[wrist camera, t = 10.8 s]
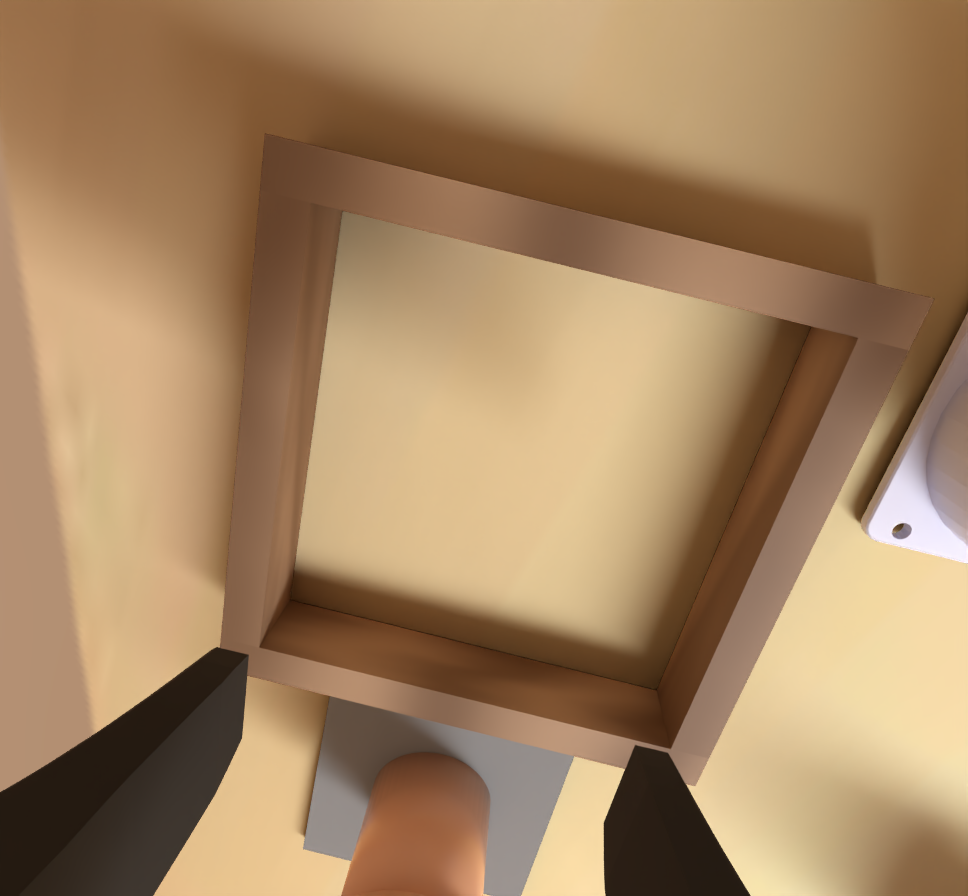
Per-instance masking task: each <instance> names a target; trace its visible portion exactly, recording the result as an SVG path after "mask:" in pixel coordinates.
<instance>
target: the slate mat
mask: <svg viewBox="0 0 968 896" xmlns="http://www.w3.org/2000/svg"><path fill="white" fill-rule="evenodd" d="M419 752H429V753H438V754H443V755H446V756H450V757H453V758H455V759H457V760H459V761H461V762H463V763H465V764H467V765H468V766H469V767H471V768H472V769H473V770H474V771H476V772H477V773H478V774H479V775H480V777H481V778H482V779H483V781H484V782H485V784H486V786H487V788H488V790H489V793H490V799H491V804H490V817H489V830H488V842H487V854H486V866H485V879H484V891H483V894H487V895H491V896H521V894H522V892H523V889H524V886H525V884H526V881H527V878H528V876H529V873H530V871H531V868H532V865H533V863H534V860H535V857H536V855H537V852H538V850H539V847H540V844H541V842H542V839H543V837H544V834H545V831H546V829H547V826H548V823H549V821H550V818H551V816H552V813H553V810H554V808H555V805H556V802H557V800H558V797H559V795H560V792H561V789H562V787H563V784H564V781H565V779H566V776H567V774H568V771H569V768H570V766H571V763H572V760H573V758H574V756H571V755H567V754H563V753H559V752H555V751H551V750H546V749H542V748H538V747H534V746H530V745H526V744H522V743H518V742H514V741H510V740H506V739H502V738H498V737H494V736H490V735H486V734H482V733H478V732H474V731H470V730H465V729H461V728H457V727H453V726H449V725H445V724H441V723H437V722H433V721H429V720H425V719H421V718H417V717H413V716H409V715H405V714H401V713H397V712H393V711H388V710H384V709H380V708H376V707H372V706H368V705H364V704H360V703H356V702H352V701H348V700H344V699H340V698H336V697H332V696H330V698H329V703H328V709H327V715H326V721H325V726H324V732H323V738H322V743H321V749H320V755H319V761H318V766H317V772H316V778H315V783H314V789H313V795H312V801H311V806H310V812H309V818H308V823H307V829H306V835H305V841H304V846H303V849H305V850H309V851H313V852H317V853H321V854H325V855H329V856H333V857H337V858H341V859H345V860H350V861H352V857H353V854H354V850H355V847H356V843H357V840H358V836H359V833H360V830H361V826H362V823H363V819H364V816H365V812H366V809H367V805H368V802H369V799H370V795H371V792H372V788H373V785H374V782H375V778H376V776H377V775H378V773H379V772H380V770H381V769H382V768H383V767H384V766H385V765H386V764H387V763H389V762H390V761H392V760H394V759H396V758H398V757H400V756H403V755H407V754H411V753H419Z"/></svg>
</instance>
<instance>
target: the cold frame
mask: <svg viewBox="0 0 968 896" xmlns="http://www.w3.org/2000/svg"><path fill="white" fill-rule="evenodd" d="M342 211H346V212H350V213H354V214H359V215H363V216H367V217H371V218H375V219H379V220H383V221H387V222H391V223H395V224H399V225H403V226H407V227H411V228H415V229H419V230H423V231H427V232H431V233H436V234H440V235H444V236H448V237H452V238H456V239H460V240H464V241H468V242H472V243H476V244H480V245H484V246H488V247H492V248H496V249H500V250H504V251H508V252H513V253H517V254H521V255H525V256H529V257H533V258H537V259H541V260H545V261H549V262H553V263H557V264H561V265H565V266H569V267H573V268H577V269H581V270H585V271H590V272H594V273H598V274H602V275H606V276H610V277H614V278H618V279H622V280H626V281H630V282H634V283H638V284H642V285H646V286H650V287H654V288H658V289H662V290H667V291H671V292H675V293H679V294H683V295H687V296H691V297H695V298H699V299H703V300H707V301H711V302H715V303H719V304H723V305H727V306H731V307H735V308H739V309H744V310H748V311H752V312H756V313H760V314H764V315H768V316H772V317H776V318H780V319H784V320H788V321H792V322H796V323H800V324H804V325H808V326H812V327H811V329H810V331H809V334H808V336H807V338H806V341H805V343H804V345H803V348H802V350H801V352H800V355H799V357H798V359H797V362H796V364H795V366H794V369H793V371H792V374H791V376H790V378H789V381H788V383H787V385H786V388H785V390H784V392H783V395H782V397H781V399H780V402H779V404H778V406H777V409H776V411H775V414H774V416H773V418H772V421H771V423H770V425H769V428H768V430H767V432H766V435H765V437H764V439H763V442H762V444H761V446H760V449H759V451H758V453H757V456H756V458H755V461H754V463H753V465H752V468H751V470H750V472H749V475H748V477H747V479H746V482H745V484H744V486H743V489H742V491H741V493H740V496H739V498H738V501H737V503H736V505H735V508H734V510H733V512H732V515H731V517H730V519H729V522H728V524H727V526H726V529H725V531H724V533H723V536H722V538H721V540H720V543H719V545H718V548H717V550H716V552H715V555H714V557H713V559H712V562H711V564H710V566H709V569H708V571H707V573H706V576H705V578H704V580H703V583H702V585H701V587H700V590H699V592H698V595H697V597H696V599H695V602H694V604H693V606H692V609H691V611H690V613H689V616H688V618H687V620H686V623H685V625H684V627H683V630H682V632H681V635H680V637H679V639H678V642H677V644H676V646H675V649H674V651H673V653H672V656H671V658H670V660H669V663H668V665H667V667H666V670H665V672H664V674H663V677H662V679H661V682H660V684H659V686H658V689H657V691H656V690H652V689H648V688H644V687H640V686H636V685H632V684H628V683H624V682H620V681H616V680H612V679H608V678H603V677H599V676H595V675H591V674H587V673H583V672H579V671H575V670H571V669H567V668H563V667H559V666H555V665H551V664H547V663H543V662H539V661H535V660H531V659H526V658H522V657H518V656H514V655H510V654H506V653H502V652H498V651H494V650H490V649H486V648H482V647H478V646H474V645H470V644H466V643H462V642H458V641H454V640H450V639H445V638H441V637H437V636H433V635H429V634H425V633H421V632H417V631H413V630H409V629H405V628H401V627H397V626H393V625H389V624H385V623H381V622H377V621H373V620H368V619H364V618H360V617H356V616H352V615H348V614H344V613H340V612H336V611H332V610H328V609H324V608H320V607H316V606H312V605H308V604H304V603H300V602H296V601H291V600H290V596H291V589H292V581H293V574H294V566H295V559H296V551H297V544H298V537H299V529H300V522H301V514H302V507H303V499H304V492H305V484H306V477H307V470H308V462H309V455H310V447H311V440H312V432H313V425H314V418H315V410H316V403H317V395H318V388H319V380H320V373H321V365H322V358H323V351H324V343H325V336H326V328H327V321H328V313H329V306H330V298H331V291H332V284H333V276H334V269H335V261H336V254H337V246H338V239H339V231H340V224H341V217H342ZM933 301H934V298H930V297H926V296H922V295H918V294H914V293H910V292H906V291H901V290H897V289H893V288H889V287H885V286H881V285H877V284H873V283H869V282H865V281H861V280H857V279H853V278H849V277H845V276H841V275H837V274H833V273H829V272H824V271H820V270H816V269H812V268H808V267H804V266H800V265H796V264H792V263H788V262H784V261H780V260H776V259H772V258H768V257H764V256H760V255H756V254H752V253H747V252H743V251H739V250H735V249H731V248H727V247H723V246H719V245H715V244H711V243H707V242H703V241H699V240H695V239H691V238H687V237H683V236H679V235H675V234H670V233H666V232H662V231H658V230H654V229H650V228H646V227H642V226H638V225H634V224H630V223H626V222H622V221H618V220H614V219H610V218H606V217H602V216H598V215H593V214H589V213H585V212H581V211H577V210H573V209H569V208H565V207H561V206H557V205H553V204H549V203H545V202H541V201H537V200H533V199H529V198H525V197H521V196H516V195H512V194H508V193H504V192H500V191H496V190H492V189H488V188H484V187H480V186H476V185H472V184H468V183H464V182H460V181H456V180H452V179H448V178H444V177H439V176H435V175H431V174H427V173H423V172H419V171H415V170H411V169H407V168H403V167H399V166H395V165H391V164H387V163H383V162H379V161H375V160H371V159H367V158H362V157H358V156H354V155H350V154H346V153H342V152H338V151H334V150H330V149H326V148H322V147H318V146H314V145H310V144H306V143H302V142H298V141H294V140H290V139H285V138H281V137H277V136H273V135H269V134H265V139H264V151H263V162H262V174H261V185H260V197H259V208H258V219H257V231H256V242H255V254H254V265H253V277H252V288H251V300H250V311H249V323H248V334H247V346H246V357H245V369H244V380H243V392H242V403H241V414H240V426H239V437H238V449H237V460H236V472H235V483H234V495H233V506H232V518H231V529H230V541H229V552H228V564H227V575H226V586H225V598H224V609H223V621H222V632H221V644H220V648H222V649H227V650H231V651H235V652H240V653H244V654H248V655H249V660H248V672H247V676H251V677H255V678H259V679H263V680H267V681H271V682H275V683H279V684H283V685H287V686H291V687H295V688H299V689H303V690H307V691H312V692H316V693H320V694H324V695H328V696H332V697H336V698H340V699H344V700H348V701H352V702H356V703H360V704H364V705H368V706H372V707H376V708H380V709H384V710H388V711H393V712H397V713H401V714H405V715H409V716H413V717H417V718H421V719H425V720H429V721H433V722H437V723H441V724H445V725H449V726H453V727H457V728H461V729H465V730H470V731H474V732H478V733H482V734H486V735H490V736H494V737H498V738H502V739H506V740H510V741H514V742H518V743H522V744H526V745H530V746H534V747H538V748H542V749H546V750H551V751H555V752H559V753H563V754H567V755H571V756H575V757H579V758H583V759H587V760H591V761H595V762H599V763H603V764H607V765H611V766H615V767H619V768H623V769H626V766H627V764H628V761H629V759H630V756H631V754H632V751H633V749H634V746H635V745H638V746H642V747H646V748H650V749H655V750H659V751H663V752H667V753H669V755H670V757H671V758H672V760H673V762H674V764H675V766H676V767H677V769H678V771H679V773H680V775H681V776H682V778H683V780H684V782H685V784H688V785H692V786H696V784H697V782H698V780H699V778H700V775H701V773H702V771H703V769H704V767H705V765H706V763H707V761H708V759H709V757H710V755H711V753H712V751H713V749H714V747H715V745H716V743H717V741H718V739H719V737H720V735H721V733H722V731H723V729H724V727H725V725H726V723H727V720H728V718H729V716H730V714H731V712H732V710H733V708H734V706H735V704H736V702H737V700H738V698H739V696H740V694H741V692H742V690H743V688H744V686H745V684H746V682H747V680H748V678H749V676H750V674H751V672H752V670H753V668H754V665H755V663H756V661H757V659H758V657H759V655H760V653H761V651H762V649H763V647H764V645H765V643H766V641H767V639H768V637H769V635H770V633H771V631H772V629H773V627H774V625H775V623H776V621H777V619H778V617H779V615H780V613H781V611H782V608H783V606H784V604H785V602H786V600H787V598H788V596H789V594H790V592H791V590H792V588H793V586H794V584H795V582H796V580H797V578H798V576H799V574H800V572H801V570H802V568H803V566H804V564H805V562H806V560H807V558H808V556H809V553H810V551H811V549H812V547H813V545H814V543H815V541H816V539H817V537H818V535H819V533H820V531H821V529H822V527H823V525H824V523H825V521H826V519H827V517H828V515H829V513H830V511H831V509H832V507H833V505H834V503H835V501H836V499H837V496H838V494H839V492H840V490H841V488H842V486H843V484H844V482H845V480H846V478H847V476H848V474H849V472H850V470H851V468H852V466H853V464H854V462H855V460H856V458H857V456H858V454H859V452H860V450H861V448H862V446H863V444H864V441H865V439H866V437H867V435H868V433H869V431H870V429H871V427H872V425H873V423H874V421H875V419H876V417H877V415H878V413H879V411H880V409H881V407H882V405H883V403H884V401H885V399H886V397H887V395H888V393H889V391H890V389H891V386H892V384H893V382H894V380H895V378H896V376H897V374H898V372H899V370H900V368H901V366H902V364H903V362H904V360H905V358H906V356H907V354H908V352H909V350H910V348H911V346H912V344H913V342H914V340H915V338H916V336H917V334H918V332H919V329H920V327H921V325H922V323H923V321H924V319H925V317H926V315H927V313H928V311H929V309H930V307H931V305H932V303H933Z"/></svg>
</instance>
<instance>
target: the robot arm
mask: <svg viewBox="0 0 968 896" xmlns="http://www.w3.org/2000/svg"><path fill="white" fill-rule="evenodd" d="M900 523H904V526H903V528H902V529H901V530H900V531H898V532H896V533H892V530H893V528H894V527H895V526H896V525H898V524H900ZM861 527H862V530H863V531H864V532H865V533H866V534H867V535H868V536H869V537H870V538H871V539H873V540H875V541H878V542H882V543H886V544H890V545H895V546H899V547H903V548H907V549H911V550H915V551H919V552H923V553H927V554H931V555H935V556H939V557H943V558H947V559H951V560H955V561H959V562H963V563H967V564H968V313H967V315H966V317H965V319H964V321H963V323H962V325H961V327H960V329H959V331H958V332H957V334H956V336H955V338H954V340H953V342H952V344H951V346H950V348H949V350H948V352H947V354H946V356H945V358H944V360H943V362H942V364H941V366H940V367H939V369H938V371H937V373H936V375H935V377H934V379H933V381H932V383H931V385H930V387H929V389H928V391H927V393H926V395H925V397H924V399H923V400H922V402H921V404H920V406H919V408H918V410H917V412H916V414H915V416H914V418H913V420H912V422H911V424H910V426H909V428H908V430H907V432H906V433H905V435H904V437H903V439H902V441H901V443H900V445H899V447H898V449H897V451H896V453H895V455H894V457H893V459H892V461H891V463H890V465H889V467H888V468H887V470H886V472H885V474H884V476H883V478H882V480H881V482H880V484H879V486H878V488H877V490H876V492H875V494H874V496H873V498H872V500H871V501H870V503H869V505H868V507H867V509H866V511H865V513H864V515H863V517H862V520H861ZM248 660H249V655H248V654H244V653H240V652H235V651H231V650H227V649H222V648H218V647H216V648H214V649H213V650H211V651H209V652H208V653H207V654H205V655H204V656H203V657H201V658H200V659H199V660H197V661H196V662H195V663H193V664H192V665H191V666H189V667H188V668H187V669H185V670H184V671H183V672H181V673H180V674H179V675H177V676H176V677H175V678H173V679H172V680H171V681H169V682H168V683H166V684H165V685H164V686H162V687H161V688H160V689H158V690H157V691H156V692H154V693H153V694H151V695H150V696H149V697H147V698H146V699H144V700H143V701H142V702H140V703H139V704H137V705H136V706H134V707H133V708H132V709H130V710H129V711H127V712H126V713H124V714H123V715H122V716H120V717H119V718H117V719H116V720H114V721H113V722H112V723H110V724H109V725H107V726H106V727H104V728H103V729H101V730H100V731H98V732H97V733H95V734H94V735H92V736H91V737H89V738H88V739H86V740H85V741H83V742H81V743H80V744H78V745H77V746H75V747H74V748H72V749H70V750H69V751H67V752H66V753H64V754H63V755H61V756H60V757H58V758H56V759H55V760H53V761H52V762H50V763H49V764H47V765H45V766H44V767H42V768H41V769H39V770H37V771H36V772H34V773H32V774H31V775H29V776H27V777H26V778H24V779H22V780H21V781H19V782H17V783H16V784H14V785H12V786H10V787H9V788H7V789H5V790H3V791H2V792H0V896H153V895H154V893H155V892H156V890H157V889H158V887H159V885H160V884H161V882H162V880H163V879H164V877H165V876H166V874H167V872H168V871H169V869H170V867H171V866H172V864H173V863H174V861H175V859H176V858H177V856H178V854H179V853H180V851H181V850H182V848H183V846H184V845H185V843H186V841H187V840H188V838H189V837H190V835H191V833H192V832H193V830H194V828H195V827H196V825H197V823H198V822H199V820H200V819H201V817H202V815H203V814H204V812H205V810H206V809H207V807H208V805H209V804H210V802H211V800H212V799H213V797H214V795H215V793H216V791H217V789H218V787H219V785H220V783H221V781H222V779H223V777H224V775H225V773H226V771H227V769H228V767H229V765H230V763H231V760H232V758H233V756H234V754H235V752H236V750H237V748H238V745H239V743H240V741H241V739H242V732H243V720H244V708H245V696H246V684H247V672H248ZM604 880H605V894H606V896H750V894H749V892H748V891H747V889H746V888H745V886H744V884H743V883H742V881H741V879H740V878H739V876H738V874H737V873H736V871H735V869H734V868H733V866H732V864H731V863H730V861H729V859H728V858H727V856H726V854H725V853H724V851H723V849H722V848H721V846H720V844H719V842H718V841H717V839H716V837H715V835H714V834H713V832H712V830H711V828H710V827H709V825H708V823H707V821H706V820H705V818H704V816H703V814H702V813H701V811H700V809H699V807H698V805H697V804H696V802H695V800H694V798H693V796H692V795H691V793H690V791H689V789H688V787H687V785H686V784H685V782H684V780H683V778H682V776H681V775H680V773H679V771H678V769H677V767H676V766H675V764H674V762H673V760H672V758H671V757H670V755H669V753H667V752H663V751H659V750H655V749H650V748H646V747H642V746H638V745H635V746H634V749H633V751H632V754H631V756H630V759H629V761H628V764H627V766H626V769H625V771H624V774H623V776H622V779H621V781H620V784H619V786H618V789H617V791H616V794H615V796H614V799H613V801H612V804H611V806H610V809H609V811H608V814H607V816H606V819H605V821H604Z"/></svg>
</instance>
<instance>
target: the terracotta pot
mask: <svg viewBox="0 0 968 896" xmlns="http://www.w3.org/2000/svg"><path fill="white" fill-rule="evenodd" d="M490 804H491V799H490V793H489V790H488V788H487V786H486V784H485V782H484V781H483V779H482V778H481V777H480V775H479V774H478V773H477V772H476V771H474V770H473V769H472V768H471V767H469V766H468V765H467V764H465V763H463V762H461V761H459V760H457V759H455V758H453V757H450V756H446V755H443V754H438V753H429V752H419V753H411V754H407V755H403V756H400V757H398V758H396V759H394V760H392V761H390V762H389V763H387V764H386V765H385V766H384V767H383V768H382V769H381V770H380V772H379V773H378V775H377V776H376V778H375V782H374V785H373V788H372V792H371V795H370V799H369V802H368V805H367V809H366V812H365V816H364V819H363V823H362V826H361V830H360V833H359V836H358V840H357V843H356V847H355V850H354V854H353V857H352V861H351V864H350V867H349V871H348V874H347V878H346V881H345V885H344V888H343V892H342V895H341V896H483V891H484V879H485V866H486V854H487V842H488V830H489V817H490Z"/></svg>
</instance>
